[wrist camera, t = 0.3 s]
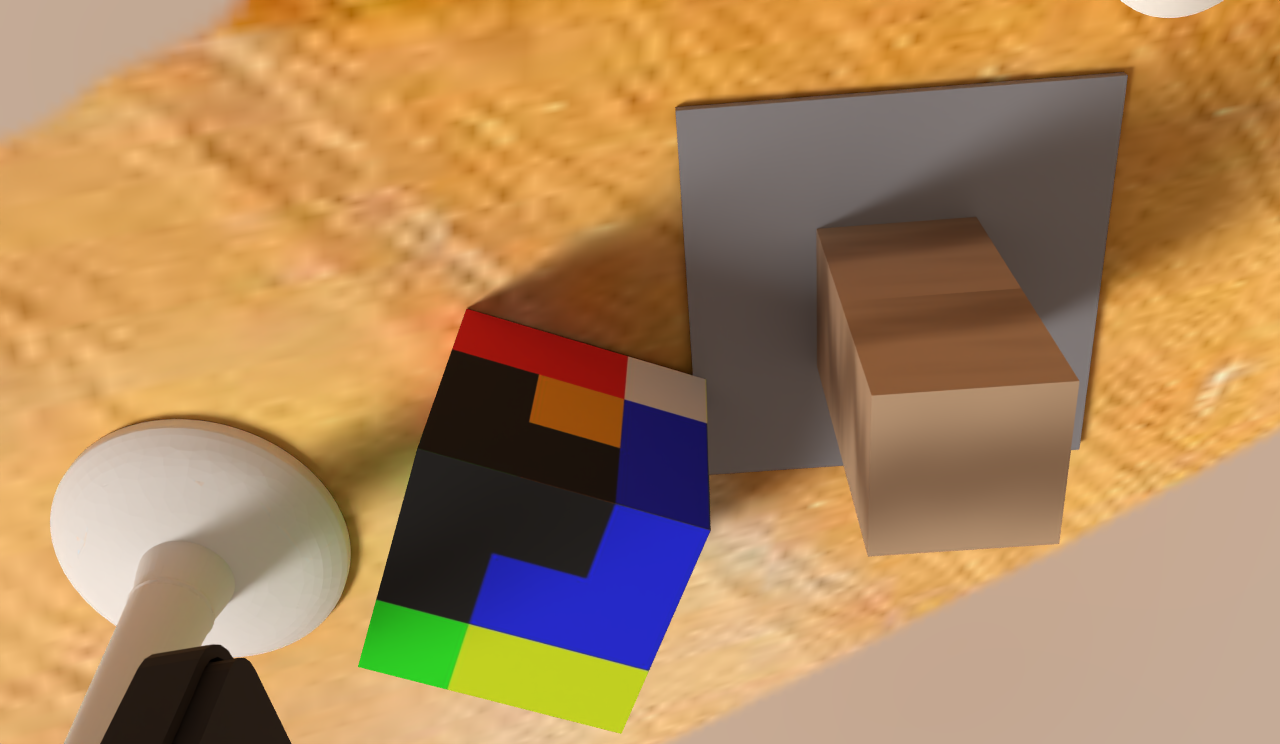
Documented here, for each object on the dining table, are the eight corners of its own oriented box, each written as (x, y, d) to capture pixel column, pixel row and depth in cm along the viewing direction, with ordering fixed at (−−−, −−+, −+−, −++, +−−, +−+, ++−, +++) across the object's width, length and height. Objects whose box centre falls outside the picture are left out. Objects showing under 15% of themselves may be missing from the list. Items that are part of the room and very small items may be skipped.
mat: (675, 107, 43) (675, 110, 43) (1123, 72, 43) (1127, 75, 42) (699, 469, 51) (699, 475, 51) (1076, 444, 51) (1079, 449, 51)
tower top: (840, 301, 40) (871, 395, 35) (1021, 288, 40) (1079, 380, 35) (839, 449, 43) (868, 556, 38) (1007, 437, 43) (1059, 544, 38)
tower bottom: (816, 228, 45) (840, 301, 40) (976, 216, 45) (1021, 288, 40) (817, 365, 48) (839, 449, 43) (966, 355, 48) (1007, 437, 43)
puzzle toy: (706, 379, 49) (710, 530, 40) (631, 563, 53) (621, 733, 45) (466, 308, 47) (417, 448, 39) (412, 503, 52) (358, 666, 44)
